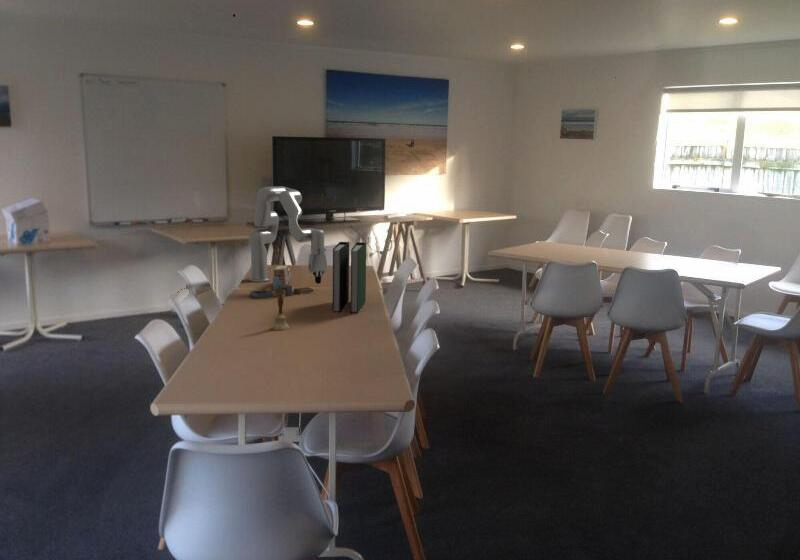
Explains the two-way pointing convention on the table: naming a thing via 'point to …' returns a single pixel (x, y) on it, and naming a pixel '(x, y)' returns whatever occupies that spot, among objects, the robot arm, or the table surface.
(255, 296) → the tray
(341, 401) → the table surface
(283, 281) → the stack of blocks
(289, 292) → the gray rectangular block
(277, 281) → the dowel
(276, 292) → the socket
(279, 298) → the hand bell
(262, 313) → the table surface
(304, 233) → the robot arm
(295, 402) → the table surface
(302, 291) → the board
